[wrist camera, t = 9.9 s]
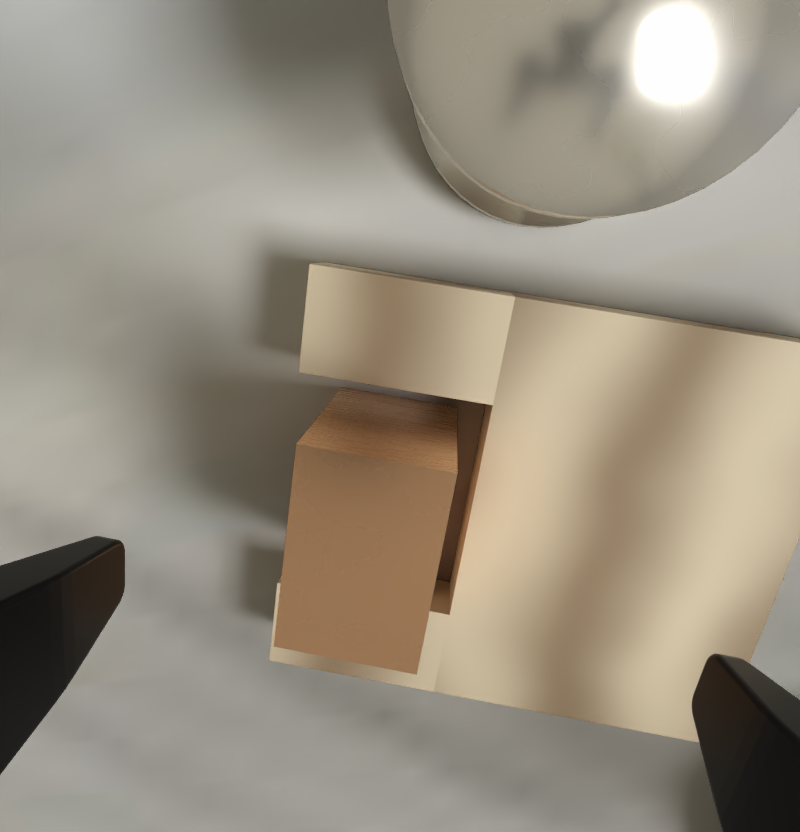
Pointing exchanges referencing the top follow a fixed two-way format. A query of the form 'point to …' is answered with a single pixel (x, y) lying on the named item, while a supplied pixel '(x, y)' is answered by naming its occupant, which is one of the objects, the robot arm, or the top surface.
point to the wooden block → (367, 529)
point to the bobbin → (594, 98)
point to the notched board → (583, 490)
